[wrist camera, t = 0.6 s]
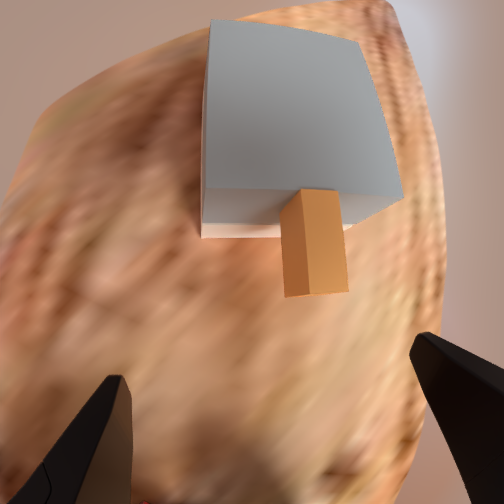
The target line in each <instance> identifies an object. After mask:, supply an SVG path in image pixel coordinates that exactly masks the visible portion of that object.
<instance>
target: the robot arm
mask: <svg viewBox="0 0 504 504" xmlns="http://www.w3.org/2000/svg"><path fill="white" fill-rule="evenodd" d="M409 356H410V360H411V362H412V365H413V367H414V370H415V372H416V375H417V378H418V380H419V383H420V385H421V388H422V391H423V393H424V395H425V397H426V400H427V402H428V404H429V406H430V408H431V410H432V412H433V414H434V416H435V418H436V420H437V422H438V424H439V427H440V429H441V431H442V433H443V435H444V437H445V440H446V442H447V444H448V446H449V449H450V451H451V453H452V455H453V458H454V460H455V463H456V465H457V467H458V469H459V472H460V475H461V477H462V480H463V482H464V484H465V488H466V490H467V493H468V496H469V498H470V501H471V504H504V369H502V368H500V367H498V366H496V365H494V364H492V363H491V362H489V361H486V360H484V359H483V358H480V357H478V356H477V355H475V354H472V353H471V352H468V351H467V350H465V349H462V348H460V347H459V346H456V345H454V344H452V343H450V342H448V341H446V340H444V339H442V338H440V337H438V336H436V335H434V334H432V333H430V332H423V333H419V334H418V335H417V336H416V337H415V340H414V342H413V345H412V347H411V350H410V353H409ZM132 455H133V433H132V398H131V393H130V391H129V388H128V386H127V384H126V381H125V379H124V377H123V376H122V375H108V376H107V377H106V378H105V379H104V381H103V382H102V383H101V384H100V386H99V387H98V388H97V390H96V391H95V392H94V393H93V395H92V396H91V397H90V398H89V400H88V401H87V402H86V404H85V405H84V406H83V407H82V409H81V410H80V411H79V413H78V414H77V415H76V417H75V418H74V419H73V420H72V422H71V423H70V424H69V426H68V427H67V428H66V430H65V431H64V432H63V434H62V435H61V436H60V438H59V439H58V440H57V442H56V443H55V444H54V446H53V447H52V448H51V450H50V451H49V452H48V454H47V455H46V456H45V458H44V459H43V462H41V463H40V464H39V466H38V467H37V468H36V470H35V471H34V472H33V474H32V475H31V476H30V478H29V479H28V480H27V482H26V483H25V484H24V485H23V486H22V487H21V489H20V490H19V491H18V492H17V493H16V494H15V495H14V497H13V498H12V499H11V500H10V501H9V502H8V503H7V504H130V497H131V472H132Z"/></svg>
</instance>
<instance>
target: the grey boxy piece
mask: <svg viewBox="0 0 504 504" xmlns="http://www.w3.org/2000/svg"><path fill="white" fill-rule="evenodd" d="M403 198H404V195H403V190H402V185H401V180H400V176H399V171H398V167H397V163H396V158H395V154H394V150H393V146H392V142H391V139H390V135H389V131H388V128H387V124H386V121H385V117H384V114H383V111H382V107H381V104H380V101H379V98H378V95H377V92H376V89H375V86H374V83H373V80H372V77H371V75H370V72H369V69H368V66H367V64H366V61H365V59H364V56H363V53H362V51H361V48H360V46H359V44H358V42H355V41H351V40H347V39H343V38H339V37H335V36H331V35H327V34H322V33H318V32H313V31H308V30H303V29H297V28H291V27H285V26H278V25H271V24H263V23H255V22H244V21H231V20H211V25H210V32H209V41H208V50H207V59H206V69H205V86H204V111H203V149H202V223H280V231H281V245H282V260H283V276H284V293H285V298H287V297H303V296H318V295H325V294H333V293H341V292H348V291H349V289H348V276H347V264H346V254H345V244H344V234H343V226H342V224H357V223H359V222H361V221H363V220H365V219H366V218H368V217H370V216H372V215H374V214H376V213H377V212H379V211H381V210H383V209H385V208H386V207H388V206H390V205H392V204H394V203H395V202H397V201H399V200H401V199H403Z"/></svg>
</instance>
